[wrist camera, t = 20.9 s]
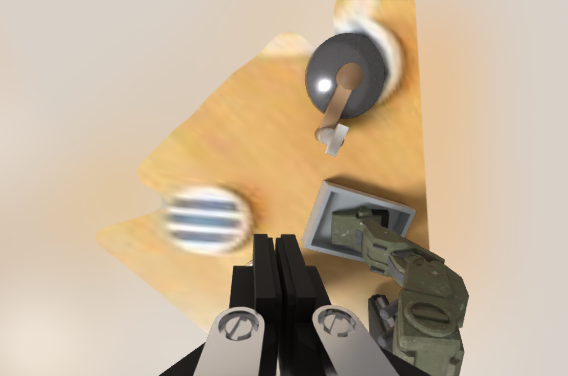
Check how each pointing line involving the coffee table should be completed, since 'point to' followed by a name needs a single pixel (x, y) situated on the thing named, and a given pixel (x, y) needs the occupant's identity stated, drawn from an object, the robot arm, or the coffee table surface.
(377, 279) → the coffee table surface
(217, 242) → the coffee table surface
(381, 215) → the mechanical leg
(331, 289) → the coffee table surface
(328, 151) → the crank
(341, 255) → the tray
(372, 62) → the crank base
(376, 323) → the magazine
